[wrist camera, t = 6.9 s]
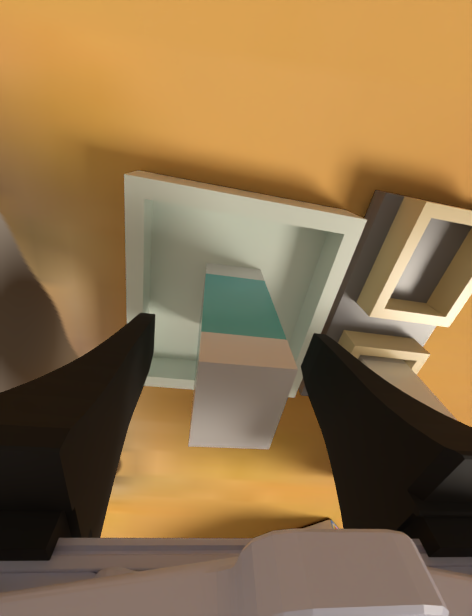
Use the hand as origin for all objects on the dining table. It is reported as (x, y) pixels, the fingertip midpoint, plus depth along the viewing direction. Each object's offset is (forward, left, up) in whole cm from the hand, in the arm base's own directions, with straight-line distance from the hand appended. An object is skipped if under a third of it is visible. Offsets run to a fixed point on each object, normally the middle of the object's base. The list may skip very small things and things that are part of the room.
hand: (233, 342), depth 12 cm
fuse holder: (0, -10, -5) cm, 11 cm away
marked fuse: (0, 0, -4) cm, 4 cm away
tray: (0, 0, -5) cm, 5 cm away
